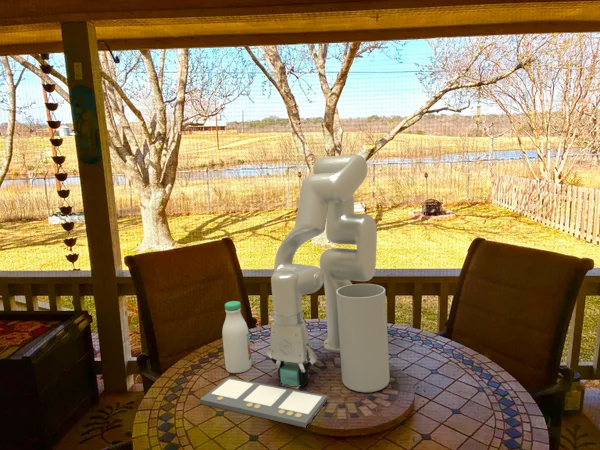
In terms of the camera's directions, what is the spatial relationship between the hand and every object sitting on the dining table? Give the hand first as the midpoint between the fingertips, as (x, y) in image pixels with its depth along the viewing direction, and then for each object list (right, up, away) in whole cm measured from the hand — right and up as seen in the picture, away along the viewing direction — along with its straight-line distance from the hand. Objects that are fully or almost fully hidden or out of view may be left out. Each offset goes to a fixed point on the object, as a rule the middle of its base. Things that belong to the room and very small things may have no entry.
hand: (293, 381), depth 117 cm
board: (-8, -2, -8) cm, 11 cm away
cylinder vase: (+19, 0, -2) cm, 19 cm away
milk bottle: (-16, 0, +12) cm, 20 cm away
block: (0, -1, 0) cm, 1 cm away
